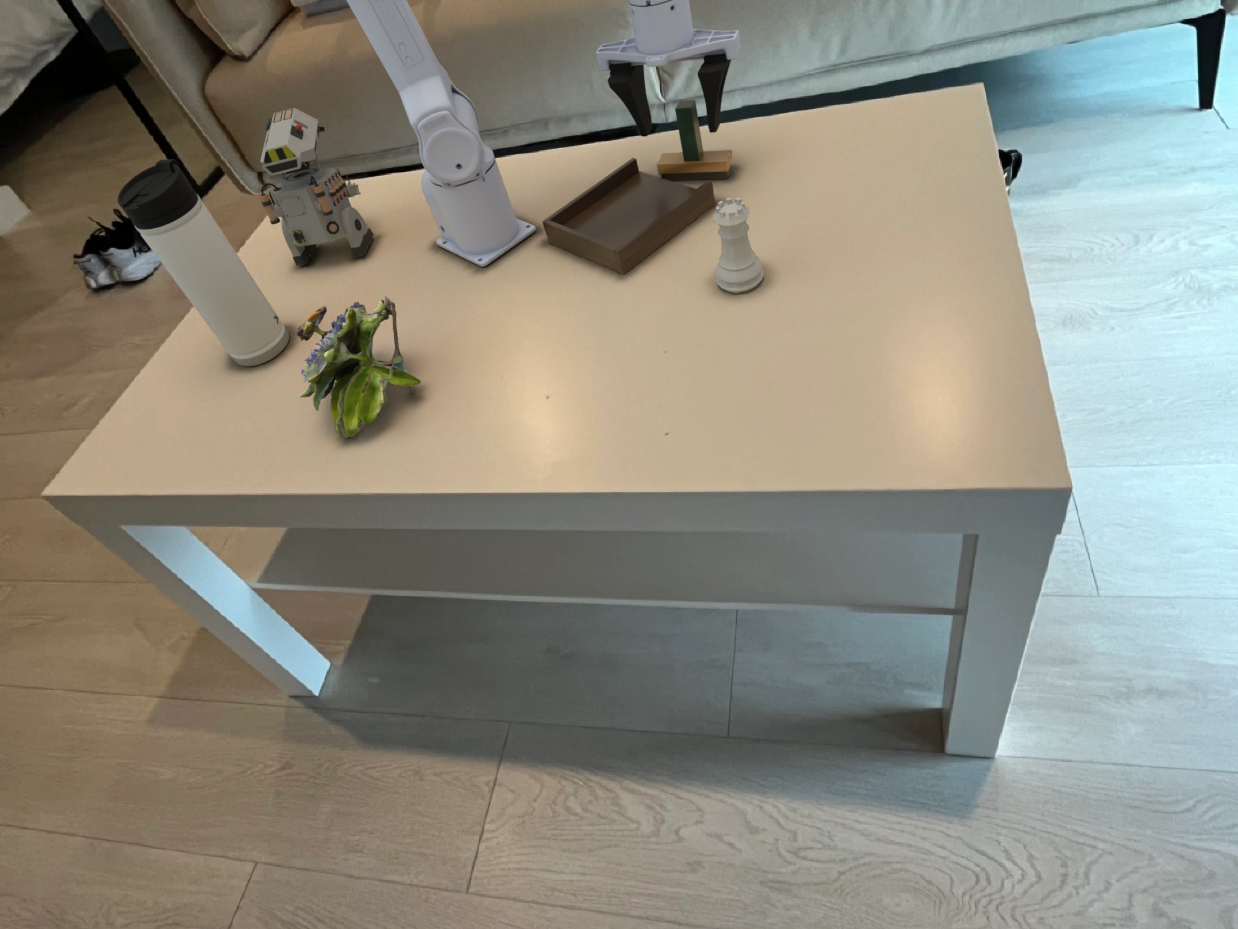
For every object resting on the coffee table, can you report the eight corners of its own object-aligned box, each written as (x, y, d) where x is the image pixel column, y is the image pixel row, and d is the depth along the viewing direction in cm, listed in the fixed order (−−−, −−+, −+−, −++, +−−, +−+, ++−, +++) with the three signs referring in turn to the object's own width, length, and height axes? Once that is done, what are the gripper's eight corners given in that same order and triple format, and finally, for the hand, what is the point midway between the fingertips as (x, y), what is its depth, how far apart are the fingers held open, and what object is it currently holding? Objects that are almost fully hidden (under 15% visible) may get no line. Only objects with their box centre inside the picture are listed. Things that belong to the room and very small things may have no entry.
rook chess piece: (762, 293, 75) (753, 217, 69) (713, 296, 76) (701, 221, 70) (766, 264, 78) (758, 188, 72) (719, 267, 79) (708, 193, 73)
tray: (548, 242, 89) (541, 221, 87) (637, 179, 94) (632, 157, 92) (623, 274, 82) (617, 252, 80) (715, 204, 87) (712, 180, 85)
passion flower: (374, 425, 83) (343, 307, 81) (461, 410, 79) (431, 285, 76) (292, 450, 73) (254, 317, 71) (385, 435, 69) (348, 292, 66)
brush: (660, 182, 92) (645, 111, 86) (665, 170, 94) (652, 100, 88) (729, 179, 89) (719, 106, 83) (733, 168, 91) (724, 95, 85)
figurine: (389, 212, 102) (332, 94, 91) (361, 266, 95) (296, 144, 84) (324, 222, 104) (261, 107, 93) (292, 276, 97) (219, 158, 86)
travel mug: (303, 328, 88) (193, 156, 74) (268, 369, 85) (145, 196, 70) (259, 325, 91) (145, 158, 76) (223, 365, 87) (96, 198, 72)
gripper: (574, 19, 78) (606, 152, 88) (721, 2, 73) (738, 145, 83) (597, -11, 82) (626, 119, 92) (738, -29, 77) (753, 111, 87)
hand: (680, 129), depth 88 cm, fingers open, 7 cm apart
